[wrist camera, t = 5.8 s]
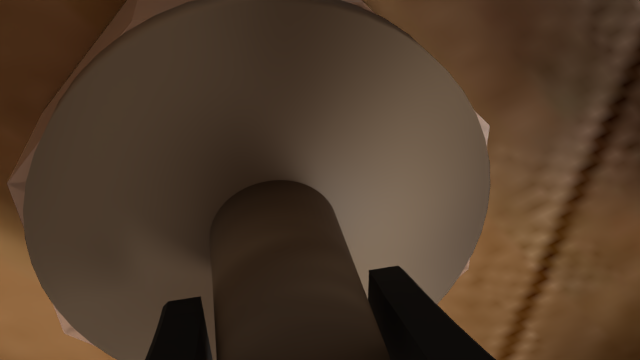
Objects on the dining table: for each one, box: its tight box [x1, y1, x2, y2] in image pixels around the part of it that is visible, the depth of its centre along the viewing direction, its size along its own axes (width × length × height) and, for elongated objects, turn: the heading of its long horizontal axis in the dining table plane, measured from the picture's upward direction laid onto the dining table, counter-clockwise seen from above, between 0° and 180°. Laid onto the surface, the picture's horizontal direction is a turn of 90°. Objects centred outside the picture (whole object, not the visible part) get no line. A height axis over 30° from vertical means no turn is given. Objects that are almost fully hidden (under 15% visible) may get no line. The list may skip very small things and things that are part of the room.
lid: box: [23, 0, 490, 360], centre depth 11 cm, size 10×10×5 cm
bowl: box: [7, 0, 490, 346], centre depth 15 cm, size 11×11×4 cm
